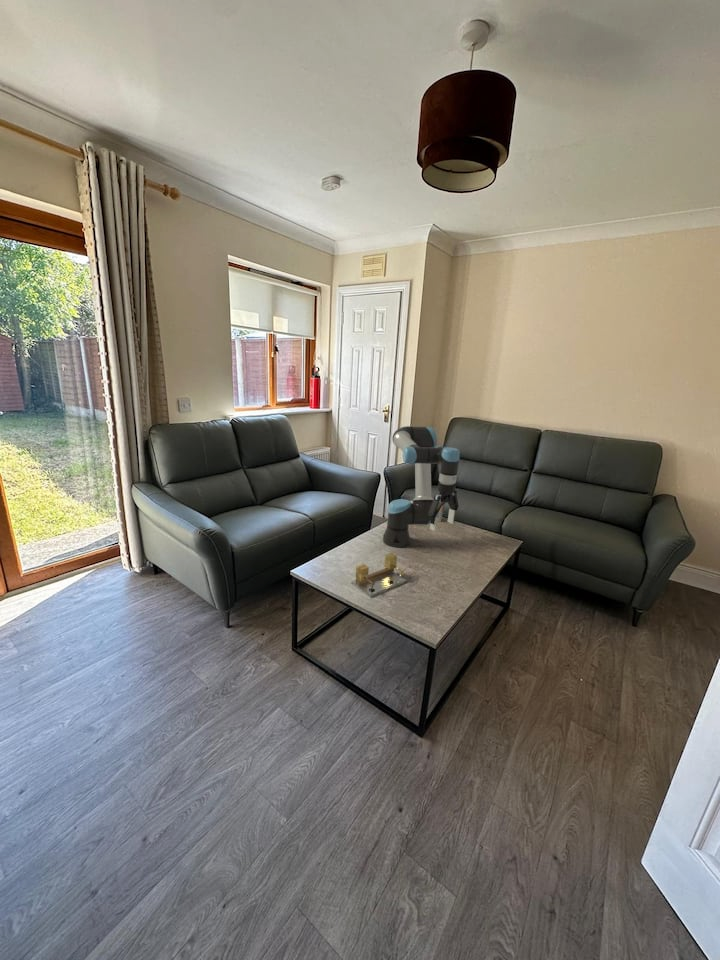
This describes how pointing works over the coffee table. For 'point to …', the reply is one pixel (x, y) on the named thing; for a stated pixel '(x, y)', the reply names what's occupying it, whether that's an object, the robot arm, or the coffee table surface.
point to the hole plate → (380, 584)
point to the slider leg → (391, 562)
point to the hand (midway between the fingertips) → (441, 526)
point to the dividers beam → (364, 577)
